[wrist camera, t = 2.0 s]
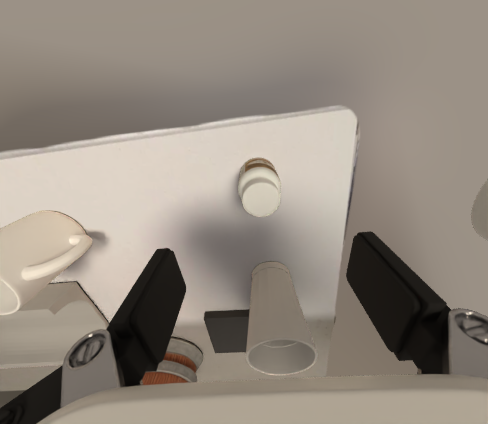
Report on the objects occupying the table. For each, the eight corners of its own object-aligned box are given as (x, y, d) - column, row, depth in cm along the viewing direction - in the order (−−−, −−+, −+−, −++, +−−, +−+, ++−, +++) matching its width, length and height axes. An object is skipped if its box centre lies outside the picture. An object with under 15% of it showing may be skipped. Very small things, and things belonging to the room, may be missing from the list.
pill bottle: (280, 161, 23) (293, 183, 16) (269, 194, 25) (277, 226, 18) (244, 152, 23) (242, 171, 16) (236, 186, 25) (232, 216, 18)
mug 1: (97, 202, 26) (16, 252, 17) (122, 250, 30) (68, 311, 21) (18, 211, 27) (-99, 263, 18) (52, 256, 31) (-30, 317, 22)
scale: (280, 308, 36) (283, 323, 33) (281, 343, 41) (284, 359, 39) (205, 311, 37) (201, 327, 34) (216, 346, 42) (213, 361, 40)
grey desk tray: (15, 340, 43) (-32, 386, 36) (-69, 272, 33) (-156, 317, 26) (118, 334, 41) (91, 381, 34) (62, 260, 31) (6, 305, 24)
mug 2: (213, 362, 46) (199, 465, 32) (147, 375, 50) (110, 471, 36) (183, 330, 40) (150, 440, 26) (110, 347, 44) (50, 450, 30)
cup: (242, 261, 30) (239, 341, 20) (293, 254, 30) (317, 335, 19) (251, 294, 34) (252, 377, 24) (296, 289, 33) (318, 373, 23)
